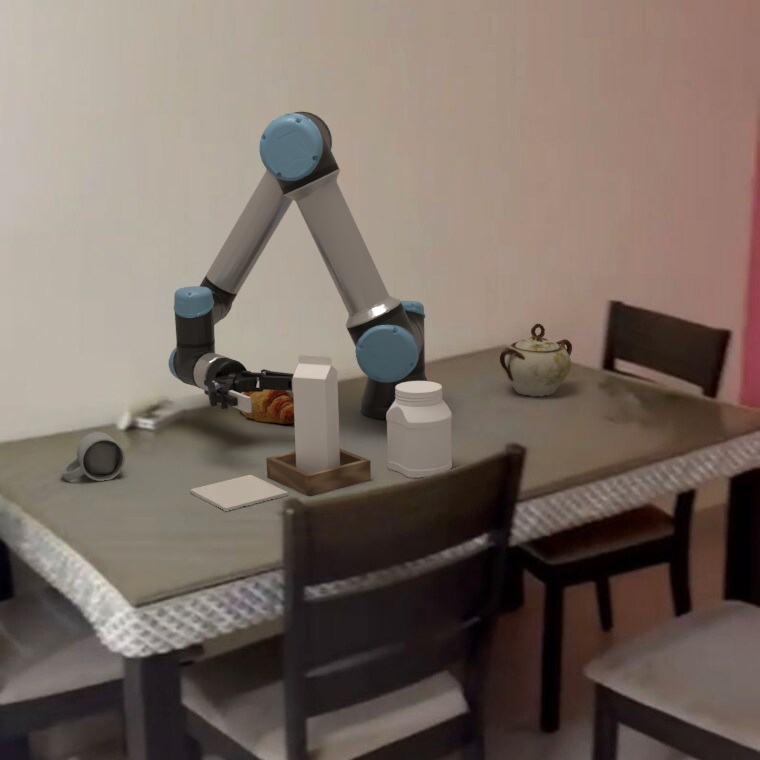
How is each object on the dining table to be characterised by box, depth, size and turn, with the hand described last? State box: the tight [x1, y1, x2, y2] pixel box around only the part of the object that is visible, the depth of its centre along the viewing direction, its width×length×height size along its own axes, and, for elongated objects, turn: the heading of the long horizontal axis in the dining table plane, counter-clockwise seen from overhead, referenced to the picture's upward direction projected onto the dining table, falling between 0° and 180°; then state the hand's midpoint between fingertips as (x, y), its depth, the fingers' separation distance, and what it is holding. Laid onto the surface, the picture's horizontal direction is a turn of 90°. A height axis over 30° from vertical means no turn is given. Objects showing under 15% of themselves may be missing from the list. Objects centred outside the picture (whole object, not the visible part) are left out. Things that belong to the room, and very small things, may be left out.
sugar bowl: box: [499, 323, 573, 397], centre depth 270 cm, size 20×15×15 cm
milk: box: [292, 354, 341, 473], centre depth 216 cm, size 6×6×22 cm
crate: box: [266, 448, 372, 497], centre depth 218 cm, size 13×13×4 cm
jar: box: [386, 380, 453, 479], centre depth 221 cm, size 12×10×15 cm
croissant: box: [240, 390, 295, 425], centre depth 257 cm, size 21×10×8 cm, turn 41°
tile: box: [189, 474, 289, 512], centre depth 211 cm, size 12×12×1 cm
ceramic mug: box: [60, 431, 126, 482], centre depth 221 cm, size 11×8×8 cm
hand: (282, 398), depth 224 cm, fingers open, 13 cm apart
